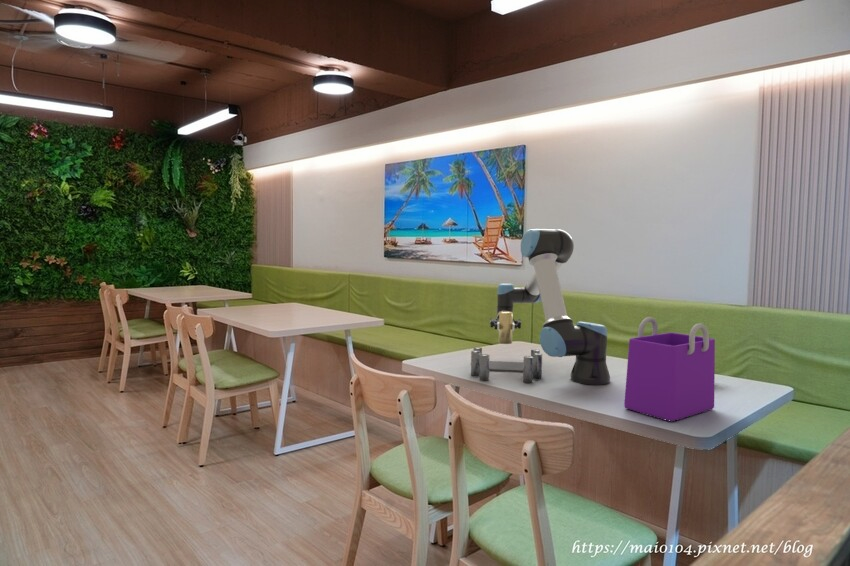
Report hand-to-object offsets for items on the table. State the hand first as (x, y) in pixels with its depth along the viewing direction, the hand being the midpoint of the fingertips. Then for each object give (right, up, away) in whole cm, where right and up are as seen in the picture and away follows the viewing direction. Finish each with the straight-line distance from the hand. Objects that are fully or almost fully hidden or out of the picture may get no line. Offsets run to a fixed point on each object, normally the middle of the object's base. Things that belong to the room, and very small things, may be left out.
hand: (505, 327), depth 226 cm
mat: (+2, -19, +14) cm, 23 cm away
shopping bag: (+47, -24, -45) cm, 70 cm away
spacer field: (0, -20, -2) cm, 20 cm away
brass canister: (0, -7, +5) cm, 9 cm away
